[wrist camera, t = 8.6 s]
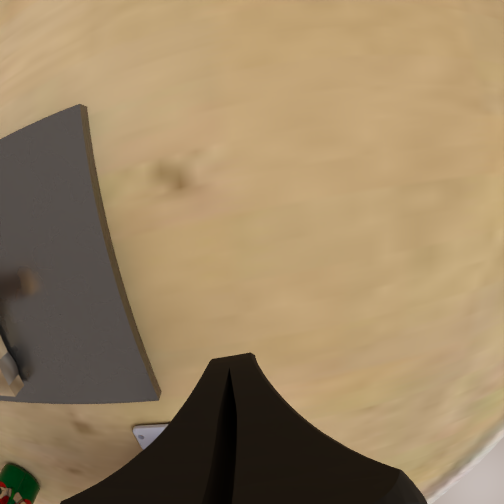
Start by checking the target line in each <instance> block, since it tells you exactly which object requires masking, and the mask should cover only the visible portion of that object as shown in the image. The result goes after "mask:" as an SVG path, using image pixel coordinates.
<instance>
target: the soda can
mask: <svg viewBox="0 0 504 504" xmlns="http://www.w3.org/2000/svg"><path fill="white" fill-rule="evenodd" d="M39 490H40V488H39V485H38V482H37V481H36V479H35V478H34V477H33V476H32V475H31V474H30V473H29V472H27V471H26V470H25V469H23V468H21V467H19V466H17V465H14V464H6V465H5V466H4V467H3V469H2V471H1V473H0V504H33V503H34V501H35V499H36V496H37V494H38V492H39Z"/></svg>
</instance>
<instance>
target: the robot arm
mask: <svg viewBox="0 0 504 504" xmlns="http://www.w3.org/2000/svg"><path fill="white" fill-rule="evenodd" d="M133 433H134V435H135V437H136V439H137V440H138V442H139V444H140V445H141V447H142V449H143V451H142V452H140V453H139V454H138V455H137V456H136V457H135V458H133V459H132V460H131V461H130V462H129V463H127V464H126V465H125V466H123V467H122V468H121V469H119V470H118V471H116V472H115V473H113V474H112V475H110V476H109V477H107V478H106V479H104V480H103V481H101V482H99V483H97V484H96V485H94V486H92V487H90V488H88V489H86V490H84V491H82V492H80V493H78V494H76V495H74V496H72V497H70V498H68V499H66V500H63V501H61V503H60V504H427V501H426V500H425V498H424V496H423V495H422V493H421V492H420V491H419V489H418V488H417V487H416V486H415V484H414V483H413V482H412V481H411V480H410V479H409V477H408V476H407V475H406V474H405V473H404V472H403V471H402V470H400V469H397V468H394V467H391V466H388V465H385V464H382V463H380V462H377V461H375V460H373V459H370V458H368V457H366V456H363V455H361V454H359V453H357V452H355V451H353V450H351V449H349V448H347V447H346V446H344V445H342V444H341V443H339V442H337V441H336V440H334V439H332V438H331V437H329V436H327V435H326V434H324V433H323V432H321V431H320V430H318V429H317V428H316V427H314V426H313V425H312V424H310V423H309V422H308V421H307V420H306V419H304V418H303V417H302V416H301V415H300V414H298V413H297V412H296V411H295V410H294V409H293V408H292V407H291V406H290V405H289V404H288V403H287V402H286V401H285V400H284V399H283V398H282V397H281V396H280V394H279V393H278V392H277V391H276V390H275V388H274V387H273V386H272V385H271V383H270V382H269V381H268V379H267V378H266V377H265V375H264V374H263V372H262V370H261V369H260V367H259V365H258V363H257V361H256V358H255V355H254V354H252V353H246V354H240V355H234V356H228V357H222V358H216V359H212V360H211V361H210V362H209V364H208V366H207V368H206V369H205V371H204V373H203V375H202V377H201V378H200V380H199V382H198V383H197V385H196V387H195V388H194V390H193V391H192V393H191V394H190V396H189V398H188V399H187V401H186V402H185V403H184V405H183V406H182V408H181V409H180V410H179V412H178V413H177V414H176V416H175V417H174V418H173V420H172V421H171V422H170V423H169V424H159V425H140V426H135V427H134V428H133ZM141 435H142V436H141Z"/></svg>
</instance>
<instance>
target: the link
mask: <svg viewBox="0 0 504 504" xmlns="http://www.w3.org/2000/svg"><path fill="white" fill-rule="evenodd" d="M23 386H24V384H23V382H22V380H21V378H20V376H19V373H18V368H17V365H16V363H15V361H14V359H13V358H12V356H11V355H10V354H9V353H8V351H7V349H6V347H5V345H4V342H3V340H2V338H1V335H0V395H1V396H13V397H15V396H16V395H17V394H18V392H19V391H20V390H21V389H22V387H23Z"/></svg>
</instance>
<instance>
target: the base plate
mask: <svg viewBox="0 0 504 504" xmlns="http://www.w3.org/2000/svg"><path fill="white" fill-rule="evenodd" d="M0 335H1V338H2V340H3V342H4V345H5V347H6V349H7V351H8V353H9V354H10V355H11V356H12V358H13V359H14V361H15V363H16V365H17V368H18V373H19V376H20V378H21V380H22V382H23V384H24V386H23V387H22V389H21V390H20V391H19V392H18V394H17V395H16V396H15V397H13V396H1V395H0V400H1V401H13V402H28V403H49V404H106V403H129V402H145V401H158V400H159V398H160V395H161V390H160V387H159V385H158V382H157V380H156V377H155V375H154V372H153V370H152V367H151V365H150V362H149V359H148V357H147V354H146V351H145V349H144V346H143V343H142V340H141V337H140V335H139V332H138V329H137V326H136V323H135V320H134V317H133V314H132V311H131V308H130V305H129V301H128V298H127V295H126V292H125V288H124V285H123V282H122V278H121V275H120V271H119V268H118V264H117V260H116V257H115V253H114V249H113V245H112V241H111V237H110V233H109V229H108V225H107V221H106V216H105V212H104V207H103V203H102V198H101V193H100V188H99V183H98V178H97V172H96V167H95V161H94V155H93V149H92V143H91V136H90V129H89V121H88V113H87V107H86V106H84V105H81V104H78V105H76V106H73V107H70V108H68V109H65V110H63V111H60V112H58V113H56V114H53V115H51V116H48V117H46V118H44V119H42V120H39V121H37V122H35V123H33V124H31V125H28V126H26V127H24V128H22V129H20V130H18V131H16V132H14V133H12V134H10V135H8V136H6V137H4V138H2V139H0Z"/></svg>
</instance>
